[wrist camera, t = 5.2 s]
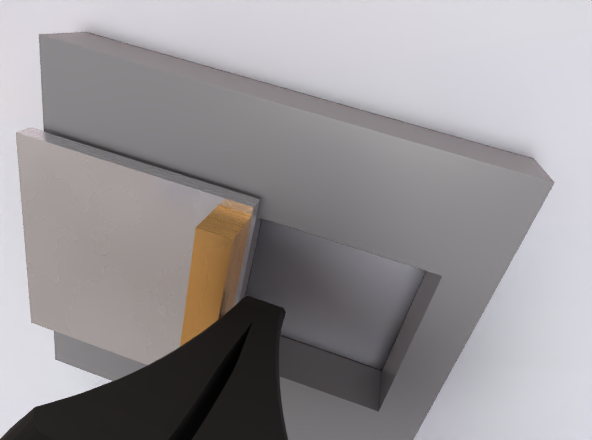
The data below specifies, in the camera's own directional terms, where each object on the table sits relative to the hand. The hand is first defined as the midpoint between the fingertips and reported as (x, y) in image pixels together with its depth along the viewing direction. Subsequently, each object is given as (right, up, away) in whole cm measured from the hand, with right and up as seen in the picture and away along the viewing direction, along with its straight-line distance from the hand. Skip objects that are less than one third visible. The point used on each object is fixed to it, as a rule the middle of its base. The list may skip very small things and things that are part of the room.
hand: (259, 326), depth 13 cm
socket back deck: (-4, +3, +3) cm, 6 cm away
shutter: (-4, +2, +1) cm, 5 cm away
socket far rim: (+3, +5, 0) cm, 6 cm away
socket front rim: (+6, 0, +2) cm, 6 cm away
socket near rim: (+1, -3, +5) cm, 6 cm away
